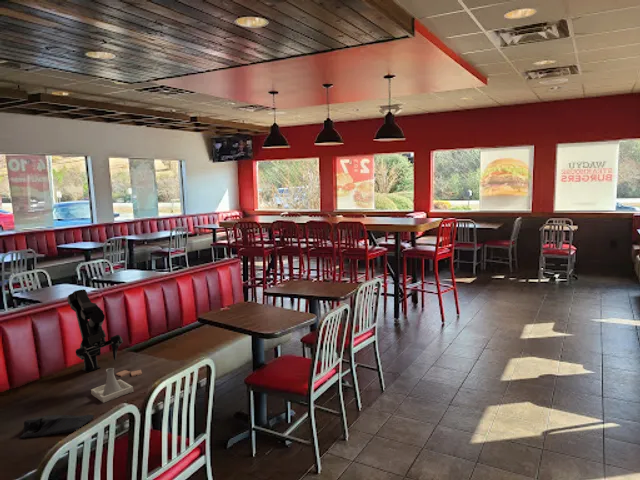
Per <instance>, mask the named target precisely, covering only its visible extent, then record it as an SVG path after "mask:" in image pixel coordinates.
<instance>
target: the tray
mask: <svg viewBox="0 0 640 480" xmlns="http://www.w3.org/2000/svg"><path fill="white" fill-rule="evenodd" d="M116 380H117V379H116ZM117 382H118V384H119V386H120V387H121V389H122V390H120V391H118V392H115V393H112V394H109V395H104V394H103V392H104V388H105V384H102V385H99V386H97V387H93V388H92V389H91V388H90V391H91V392H90V393H91V394H90V395H92V396H93V397H95V398H96V399H98V400H99V401H100V402H101V403H103V404H104V403H106V402H109V401H112V400H115V399H116V398H117V399H118V398H119V397H123V396H125V395H128V394H130V393H134V386H133V385H131V384H129V383H127V382H126V381H124V380H122V379H121V378H120V379H118V380H117Z"/></svg>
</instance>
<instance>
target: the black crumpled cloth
mask: <svg viewBox="0 0 640 480" xmlns="http://www.w3.org/2000/svg"><path fill="white" fill-rule="evenodd" d="M94 416H95V415H94V414H85V415H72V414H51V415H44V416H35V417H31V418H29V419H26V420H25V421H24V422H23V433H22V434H21V435H20V436H19V438H21V439H25V437H26V438H38V436H39V437H46V436H50V435H51V434H54V435H59V433H62V434H68V433H71V432H72V433H73V431H74V432H76V431H75V430H77V429H78V430H80V429H79V428H80V427H81V428H83V427H84V426H85V425H86V424H88V423H90V421H91V420H93V419H94ZM83 425H84V426H83ZM38 429H39V430H38ZM78 430H77V431H78ZM36 431H37V432H36ZM34 432H35V433H34ZM51 436H52V435H51Z"/></svg>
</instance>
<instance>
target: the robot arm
mask: <svg viewBox="0 0 640 480" xmlns="http://www.w3.org/2000/svg"><path fill="white" fill-rule="evenodd" d="M66 299H67V303H68V305H69V307H70V309H71V310H72V311H74V312H75V316H76V319H77V322H78V323H77V324H78V328H79V332H80V336H81V342H80V345H79V348H77V349H75V356H76V357H78V358H79V359H80V360H81V361H83V364H84V367H82V370H83V371H85V372H86V373H89V372H92V371H95V370H98V369H101V366H100V365H98V356H101V350H102V348H104V347H107V346H111V349H112V356H113V357H112V358H113V359H114V361H117V355H118V350H119V347H120V346H121V344H123V343H124V341H123V338H122V336H121V335H119V334H116V335H113V336H111V337H110V340H106V338H107V335H106V332H105V330H104V329H103V323H104V321H105V319H106V316H105V313H104V311H103V310H102V309H101V307H100V306H98V304H97V303H95V302H91V299H90V297H89V296H88V292H87V290H86V289H84V288H83V289H78V290H74V291H73V292H72V293H70V294H68V296H67V298H66Z"/></svg>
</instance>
